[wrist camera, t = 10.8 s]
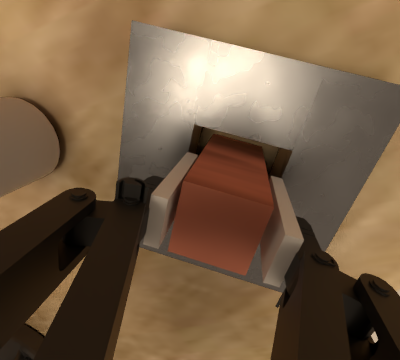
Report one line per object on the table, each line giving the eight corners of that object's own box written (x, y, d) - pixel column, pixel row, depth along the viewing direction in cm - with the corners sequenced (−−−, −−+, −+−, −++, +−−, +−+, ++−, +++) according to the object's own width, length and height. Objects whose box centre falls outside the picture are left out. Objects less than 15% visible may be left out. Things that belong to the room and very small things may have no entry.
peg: (246, 190, 21) (245, 275, 12) (202, 177, 21) (167, 251, 12) (261, 146, 19) (274, 207, 10) (213, 133, 19) (183, 180, 10)
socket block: (290, 262, 23) (298, 297, 19) (133, 214, 24) (112, 238, 20) (380, 87, 16) (419, 89, 12) (156, 33, 17) (131, 20, 14)
